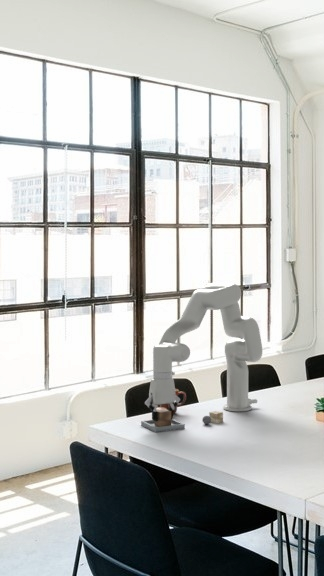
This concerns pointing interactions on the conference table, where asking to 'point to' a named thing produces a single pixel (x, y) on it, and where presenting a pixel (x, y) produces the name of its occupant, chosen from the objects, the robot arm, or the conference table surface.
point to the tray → (174, 426)
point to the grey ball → (206, 420)
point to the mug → (177, 403)
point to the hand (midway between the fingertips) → (162, 419)
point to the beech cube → (216, 416)
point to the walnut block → (163, 418)
